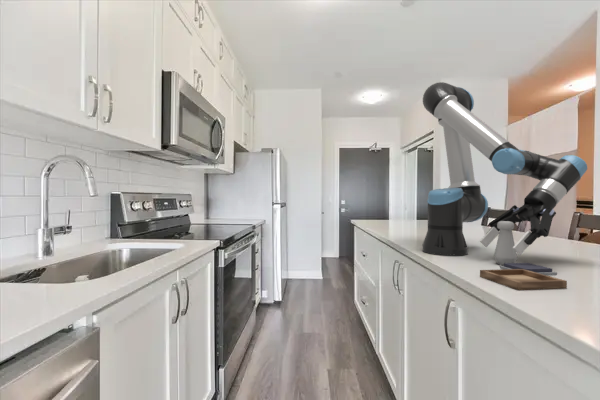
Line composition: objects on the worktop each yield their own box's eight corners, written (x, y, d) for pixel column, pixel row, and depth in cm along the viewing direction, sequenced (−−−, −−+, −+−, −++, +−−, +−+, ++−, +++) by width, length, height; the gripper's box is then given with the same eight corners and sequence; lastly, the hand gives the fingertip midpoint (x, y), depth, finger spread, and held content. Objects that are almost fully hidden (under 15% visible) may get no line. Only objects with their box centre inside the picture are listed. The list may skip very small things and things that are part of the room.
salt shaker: (510, 262, 100) (510, 220, 100) (521, 266, 94) (521, 222, 94) (490, 262, 100) (490, 220, 100) (499, 266, 95) (500, 221, 95)
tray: (479, 276, 82) (480, 269, 82) (522, 275, 84) (522, 268, 84) (517, 290, 70) (517, 282, 70) (566, 288, 72) (566, 280, 72)
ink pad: (499, 268, 92) (499, 262, 92) (528, 267, 93) (528, 262, 93) (525, 275, 83) (525, 270, 83) (556, 274, 84) (557, 269, 84)
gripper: (593, 207, 87) (542, 264, 85) (519, 205, 111) (478, 249, 110) (576, 187, 86) (525, 244, 84) (505, 189, 111) (464, 233, 109)
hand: (498, 247), depth 97 cm, fingers open, 13 cm apart
